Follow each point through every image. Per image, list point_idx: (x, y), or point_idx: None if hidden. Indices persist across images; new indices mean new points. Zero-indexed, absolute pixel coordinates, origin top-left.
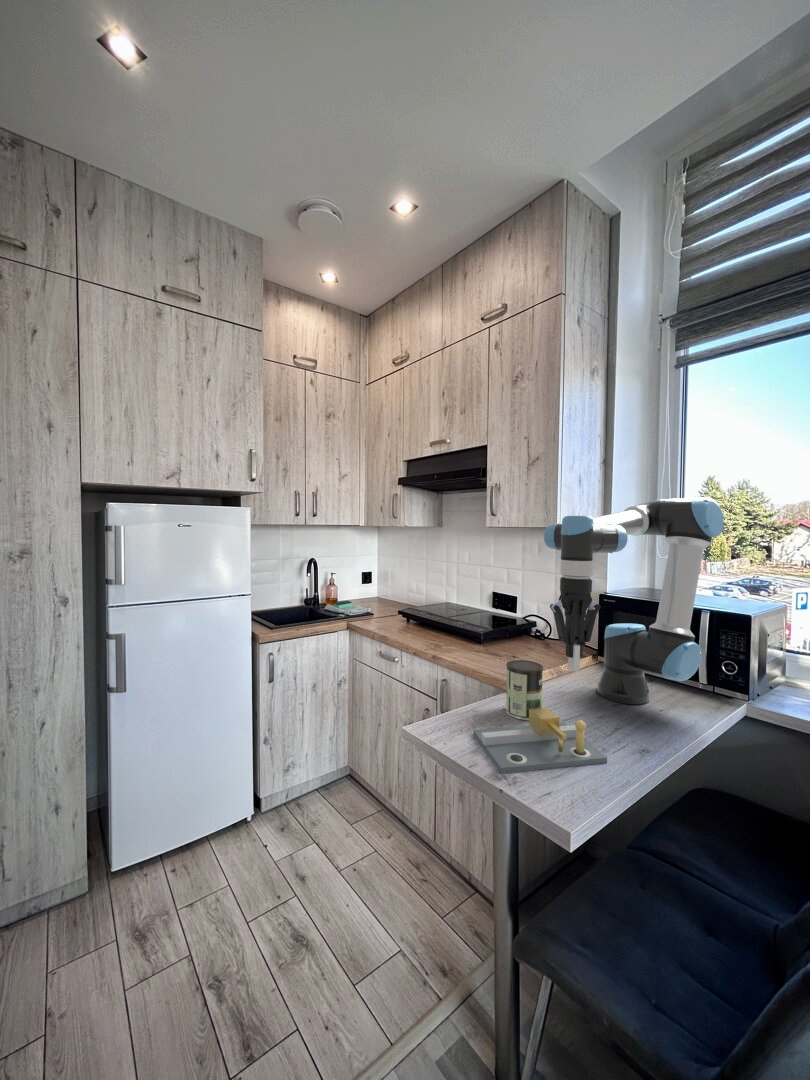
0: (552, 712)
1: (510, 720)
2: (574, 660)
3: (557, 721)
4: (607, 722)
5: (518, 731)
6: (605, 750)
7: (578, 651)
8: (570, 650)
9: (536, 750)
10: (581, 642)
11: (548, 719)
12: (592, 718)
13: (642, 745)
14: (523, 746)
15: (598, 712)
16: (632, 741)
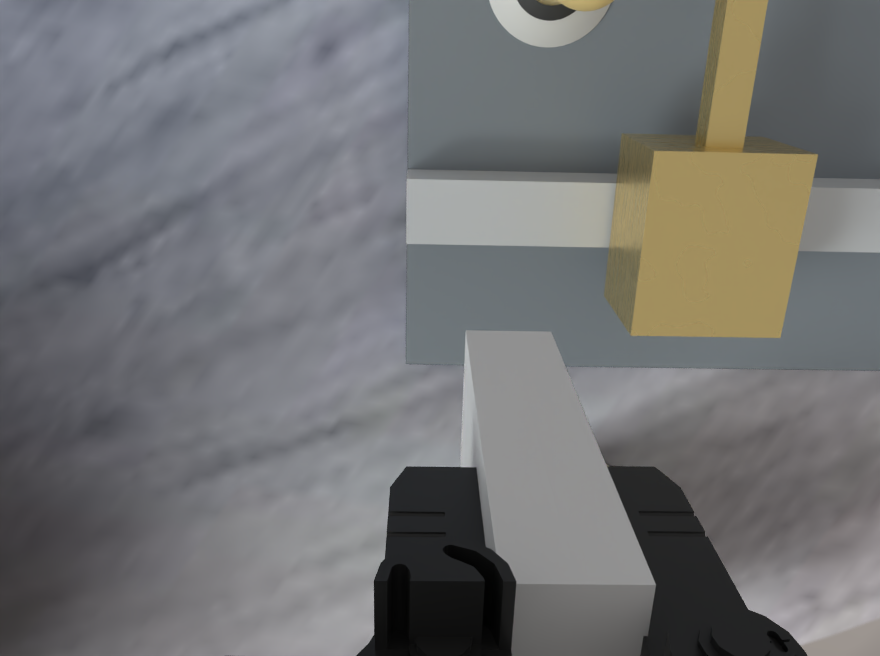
0: (647, 246)
1: (678, 472)
2: (579, 402)
3: (660, 147)
4: (97, 356)
5: (852, 228)
6: (324, 31)
7: (521, 496)
8: (679, 547)
9: (808, 62)
10: (468, 640)
11: (746, 152)
12: (166, 417)
13: (35, 42)
14: (853, 126)
15: (82, 479)
16: (73, 103)
